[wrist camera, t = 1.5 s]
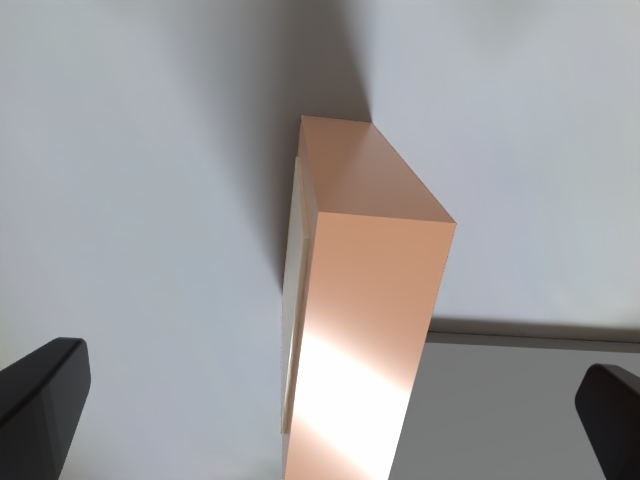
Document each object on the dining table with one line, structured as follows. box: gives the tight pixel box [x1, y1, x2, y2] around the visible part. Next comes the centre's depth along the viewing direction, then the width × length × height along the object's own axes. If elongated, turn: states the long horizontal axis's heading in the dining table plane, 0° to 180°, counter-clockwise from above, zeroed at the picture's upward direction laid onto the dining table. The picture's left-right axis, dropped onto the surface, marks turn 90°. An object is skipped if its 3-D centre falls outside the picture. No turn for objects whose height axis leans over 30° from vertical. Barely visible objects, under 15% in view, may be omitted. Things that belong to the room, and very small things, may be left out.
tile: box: [281, 115, 457, 480], centre depth 11 cm, size 2×6×7 cm, turn 173°
